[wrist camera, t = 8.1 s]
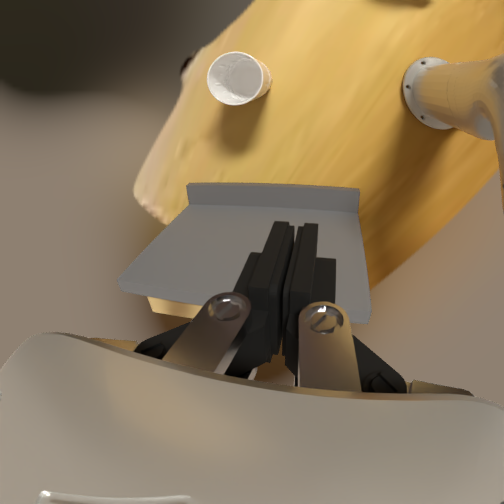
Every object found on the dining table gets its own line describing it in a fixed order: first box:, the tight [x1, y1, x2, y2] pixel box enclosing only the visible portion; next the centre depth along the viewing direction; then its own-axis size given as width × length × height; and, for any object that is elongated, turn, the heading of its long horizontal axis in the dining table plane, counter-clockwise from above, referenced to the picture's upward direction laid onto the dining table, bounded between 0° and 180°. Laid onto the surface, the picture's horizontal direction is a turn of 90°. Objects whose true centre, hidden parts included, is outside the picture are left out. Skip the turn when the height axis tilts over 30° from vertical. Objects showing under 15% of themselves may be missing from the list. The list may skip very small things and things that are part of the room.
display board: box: [117, 183, 372, 324], centre depth 43 cm, size 32×10×26 cm, turn 93°
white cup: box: [207, 52, 272, 105], centre depth 37 cm, size 8×8×10 cm
